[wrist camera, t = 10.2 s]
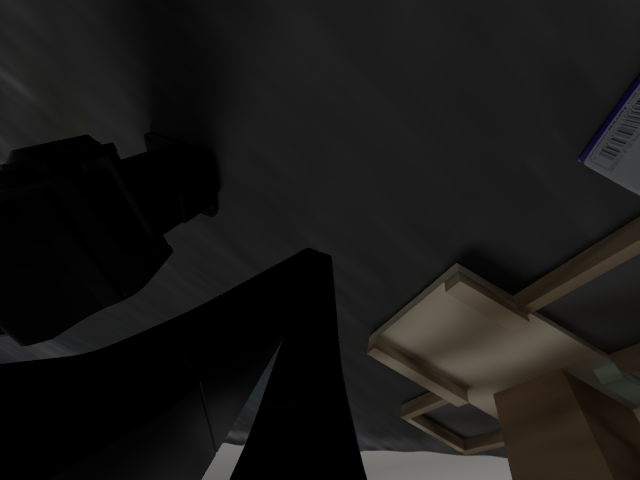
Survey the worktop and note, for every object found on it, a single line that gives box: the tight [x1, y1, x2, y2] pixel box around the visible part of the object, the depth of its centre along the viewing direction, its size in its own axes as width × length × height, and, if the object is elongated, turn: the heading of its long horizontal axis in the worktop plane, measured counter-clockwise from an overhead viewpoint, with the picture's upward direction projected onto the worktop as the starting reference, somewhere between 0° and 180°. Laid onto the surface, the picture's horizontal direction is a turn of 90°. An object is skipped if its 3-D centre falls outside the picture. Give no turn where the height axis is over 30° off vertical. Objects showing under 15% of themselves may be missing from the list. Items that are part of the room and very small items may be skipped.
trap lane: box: [367, 216, 640, 455], centre depth 23 cm, size 23×31×4 cm
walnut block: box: [493, 368, 640, 480], centre depth 20 cm, size 7×7×9 cm
